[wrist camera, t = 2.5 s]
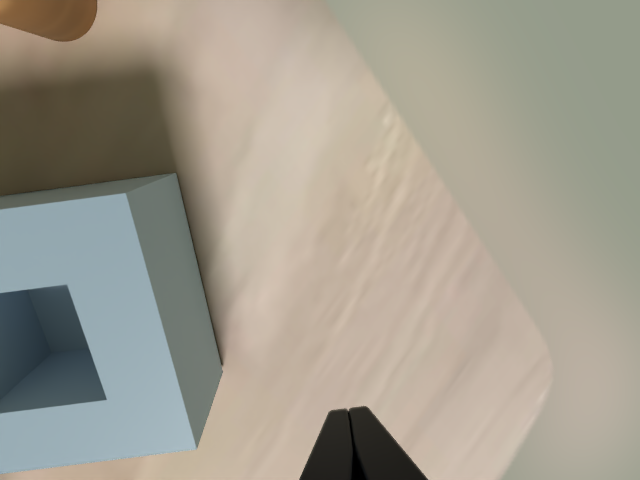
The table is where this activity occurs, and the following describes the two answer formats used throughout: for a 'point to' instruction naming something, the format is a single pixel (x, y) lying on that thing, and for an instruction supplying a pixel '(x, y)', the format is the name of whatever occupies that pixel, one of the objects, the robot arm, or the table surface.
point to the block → (101, 326)
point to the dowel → (50, 17)
